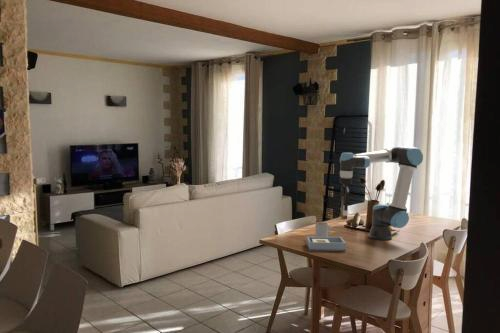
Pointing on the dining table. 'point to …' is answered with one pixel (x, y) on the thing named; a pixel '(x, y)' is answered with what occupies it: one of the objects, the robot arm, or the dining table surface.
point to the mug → (322, 229)
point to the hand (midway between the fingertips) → (344, 214)
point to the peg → (342, 209)
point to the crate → (326, 244)
